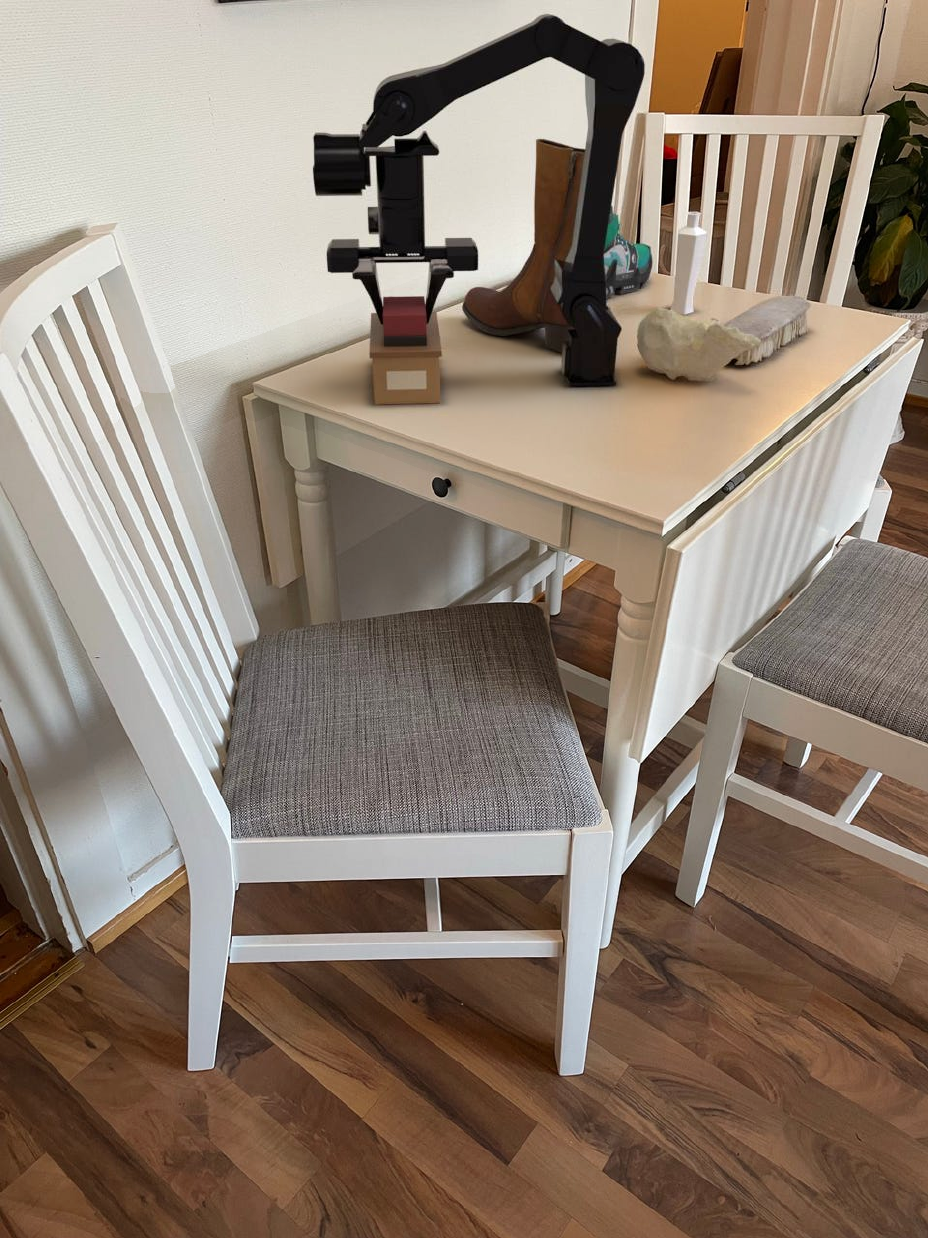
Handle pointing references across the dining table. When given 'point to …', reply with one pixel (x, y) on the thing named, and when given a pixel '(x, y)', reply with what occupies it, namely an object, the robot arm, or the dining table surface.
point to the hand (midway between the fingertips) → (404, 323)
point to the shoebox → (405, 367)
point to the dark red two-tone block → (404, 321)
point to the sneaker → (624, 261)
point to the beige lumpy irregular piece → (689, 345)
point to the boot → (537, 254)
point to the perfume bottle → (688, 263)
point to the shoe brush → (771, 325)
